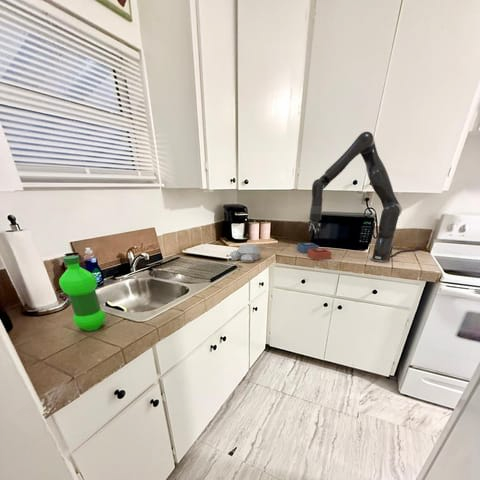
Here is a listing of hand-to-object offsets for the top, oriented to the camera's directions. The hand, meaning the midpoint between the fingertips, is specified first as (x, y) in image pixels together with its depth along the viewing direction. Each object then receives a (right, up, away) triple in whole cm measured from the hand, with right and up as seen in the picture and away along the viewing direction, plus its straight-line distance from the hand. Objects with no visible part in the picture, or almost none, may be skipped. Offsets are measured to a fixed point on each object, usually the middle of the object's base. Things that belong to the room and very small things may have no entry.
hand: (313, 237), depth 182 cm
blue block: (-2, -7, +7) cm, 10 cm away
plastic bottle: (-104, -60, -89) cm, 150 cm away
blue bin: (-2, -7, +7) cm, 11 cm away
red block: (+1, -15, -8) cm, 17 cm away
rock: (-48, -18, -11) cm, 52 cm away
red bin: (+1, -16, -8) cm, 18 cm away
